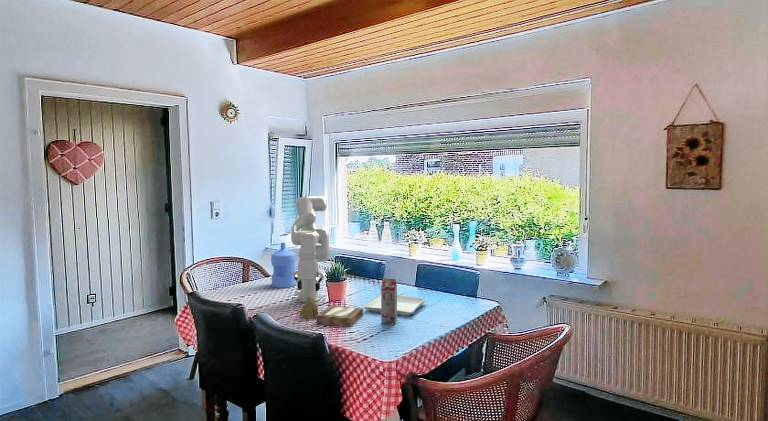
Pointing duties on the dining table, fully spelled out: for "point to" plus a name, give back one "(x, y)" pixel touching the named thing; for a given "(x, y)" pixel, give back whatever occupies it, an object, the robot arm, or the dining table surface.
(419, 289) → the dining table surface
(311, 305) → the rock
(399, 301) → the square plate
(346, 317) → the stand
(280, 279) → the water jug
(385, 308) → the juice carton
